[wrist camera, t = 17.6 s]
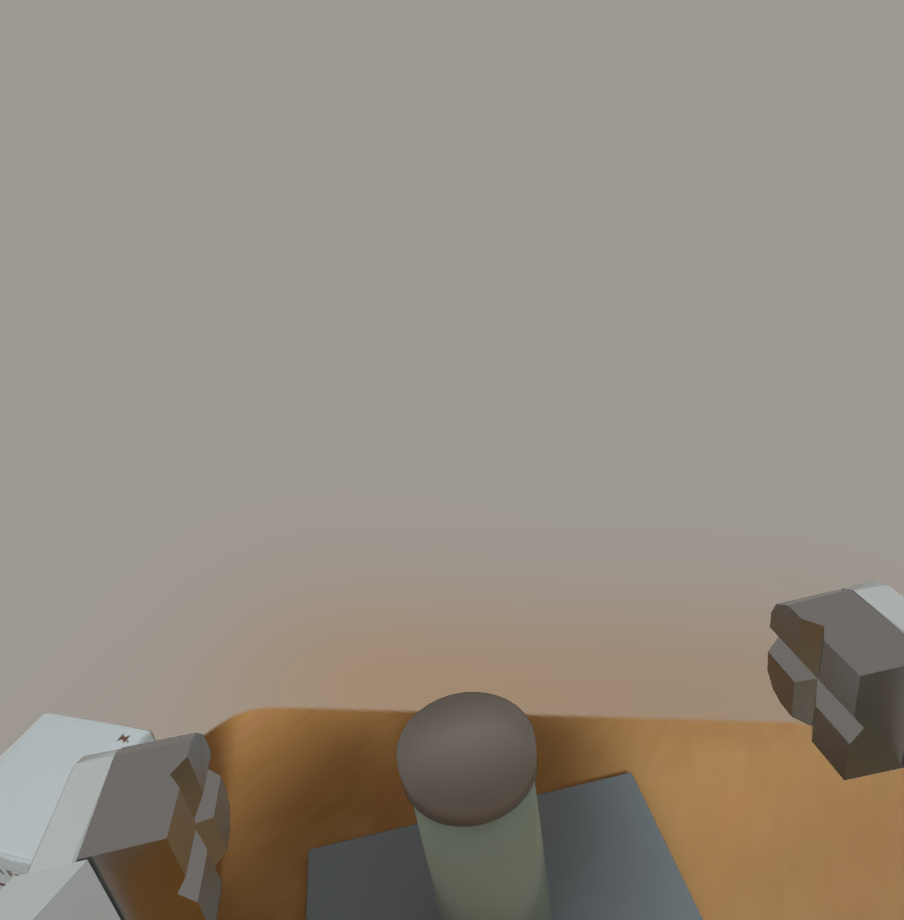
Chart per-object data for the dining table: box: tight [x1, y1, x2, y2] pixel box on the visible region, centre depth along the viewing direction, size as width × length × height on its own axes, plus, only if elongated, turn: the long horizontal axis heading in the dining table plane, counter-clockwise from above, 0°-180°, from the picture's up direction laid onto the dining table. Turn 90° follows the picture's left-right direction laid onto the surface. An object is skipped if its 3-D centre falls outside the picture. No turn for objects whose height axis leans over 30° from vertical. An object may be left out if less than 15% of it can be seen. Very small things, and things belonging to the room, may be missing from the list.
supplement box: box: [0, 713, 156, 890], centre depth 35 cm, size 7×7×13 cm
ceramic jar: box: [396, 692, 553, 920], centre depth 32 cm, size 6×6×13 cm
